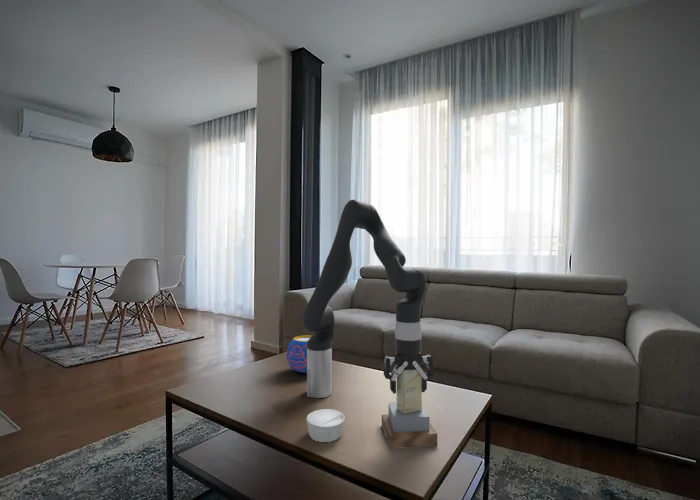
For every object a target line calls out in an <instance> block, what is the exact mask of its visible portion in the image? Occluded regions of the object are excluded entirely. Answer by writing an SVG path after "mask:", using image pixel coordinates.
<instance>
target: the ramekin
mask: <svg viewBox="0 0 700 500" xmlns="http://www.w3.org/2000/svg"><path fill="white" fill-rule="evenodd" d="M345 420H346V418H345V415H344V414H343V412H341V411H339V410H336V409H332V408H331V409H330V408H325V409H324V408H322V409H317V410H314V411H312V412H310V413H308V415H307V417H306V424H307V429H308V435H309V437H310V438H311V440H313V441H314V440H315V442H317V441H319V442H318V443H321V442H328V443H331V441H333V442H335V441H337V440H339V439H340V438H341V436H342V435H343V430H344V425H345V424H344V423H345ZM338 438H339V439H338ZM334 440H335V441H334Z"/></svg>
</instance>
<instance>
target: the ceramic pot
mask: <svg viewBox="0 0 700 500" xmlns="http://www.w3.org/2000/svg"><path fill="white" fill-rule="evenodd" d="M312 336H313V334H312V335H309V334H308V335H307V334H305V335H298V336H295V337H293V338H292V339H291V340H290V342H289V343H288V346H287V351H286V359H287V362H288V365H289V367H290V368H291V369H292V370H293V371H295V372H297V373H301V374H307V341H308V340H309V339H310V338H311V337H312Z"/></svg>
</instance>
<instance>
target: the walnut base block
mask: <svg viewBox="0 0 700 500" xmlns="http://www.w3.org/2000/svg"><path fill="white" fill-rule="evenodd" d="M381 427H382V430H383V433H384V435H385V436H386V440H387V442H388V445H389V446H390V447H389V448H391V449H401V447H405V448H417V447H416V446H420V447H430V446H431V447H435V446H434V445H436V446H438V432H437V431H436V429H435V428H434V427H433V425H432V424H431V422H430V421H429V431H413V432H394V431H393V428H392V425H391V422H390V418H389V413H388V414H387V413H386V414H385V413H384V414H381Z"/></svg>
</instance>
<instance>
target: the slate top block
mask: <svg viewBox="0 0 700 500" xmlns="http://www.w3.org/2000/svg"><path fill="white" fill-rule="evenodd" d="M388 414H389V418H390V422H391V425H392V428H393V431H394V432H413V431H429V422H430V415H429V414H428V412H427V410H426V409H425V407H424V404H422V410H421V411H416V412H411V413H406V414H404V413H403V412H401V411H400V410H398V409H397V401H394V402H392V401H391V402H388Z"/></svg>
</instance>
